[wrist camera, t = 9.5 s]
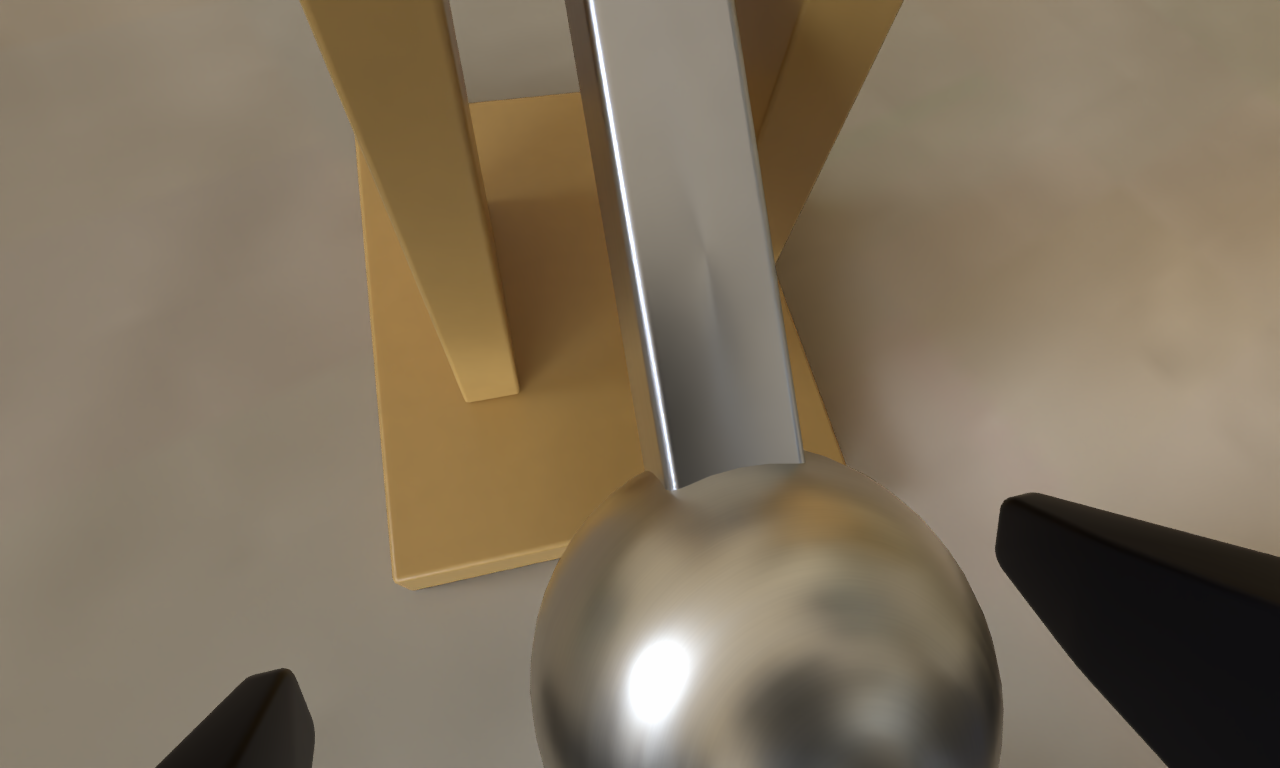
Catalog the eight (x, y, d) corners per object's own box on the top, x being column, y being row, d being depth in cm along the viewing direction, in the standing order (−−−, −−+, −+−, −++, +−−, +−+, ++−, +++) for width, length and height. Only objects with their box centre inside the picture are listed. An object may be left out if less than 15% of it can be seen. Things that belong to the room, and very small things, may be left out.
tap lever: (869, 703, 8) (1176, 1003, 4) (559, 791, 7) (601, 1237, 3) (714, -319, 7) (924, -1049, 3) (354, -322, 6) (135, -1221, 3)
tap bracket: (831, 498, 13) (2183, -429, 2) (409, 592, 11) (-2357, -733, 1) (697, 116, 17) (921, -920, 6) (367, 153, 15) (-143, -1117, 4)
